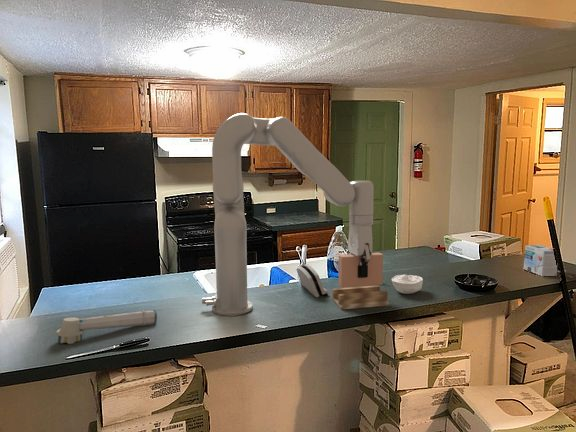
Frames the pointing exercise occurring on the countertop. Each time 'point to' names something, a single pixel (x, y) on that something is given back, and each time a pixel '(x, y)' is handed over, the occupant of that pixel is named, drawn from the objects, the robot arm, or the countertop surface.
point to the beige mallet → (102, 324)
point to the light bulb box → (540, 260)
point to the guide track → (359, 297)
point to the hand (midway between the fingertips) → (360, 275)
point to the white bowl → (407, 283)
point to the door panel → (350, 271)
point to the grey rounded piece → (311, 280)
